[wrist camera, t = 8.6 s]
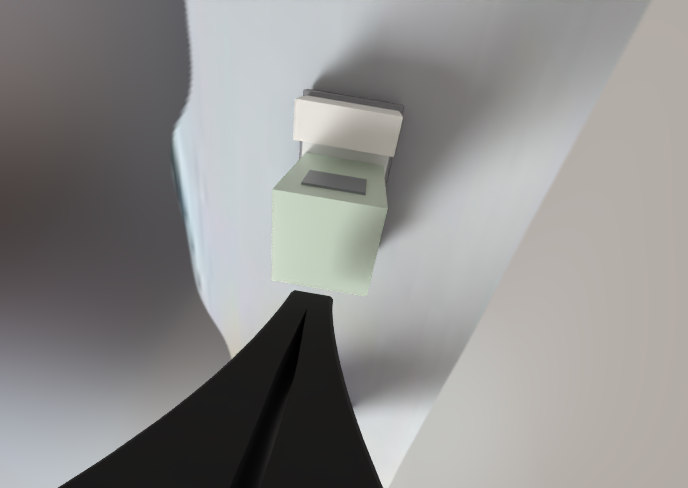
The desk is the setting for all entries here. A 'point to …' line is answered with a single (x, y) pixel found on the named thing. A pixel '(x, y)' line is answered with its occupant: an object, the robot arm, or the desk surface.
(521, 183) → the desk surface
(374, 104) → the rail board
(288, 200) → the sage module
